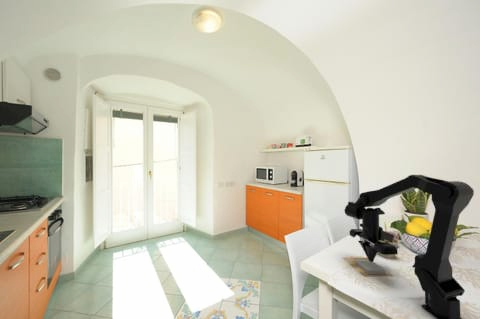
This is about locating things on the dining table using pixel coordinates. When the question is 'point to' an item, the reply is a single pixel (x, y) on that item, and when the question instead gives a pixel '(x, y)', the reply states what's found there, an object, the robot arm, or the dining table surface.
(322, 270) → the dining table surface
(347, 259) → the board
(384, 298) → the dining table surface
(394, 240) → the flower pot
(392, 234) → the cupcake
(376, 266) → the tile
